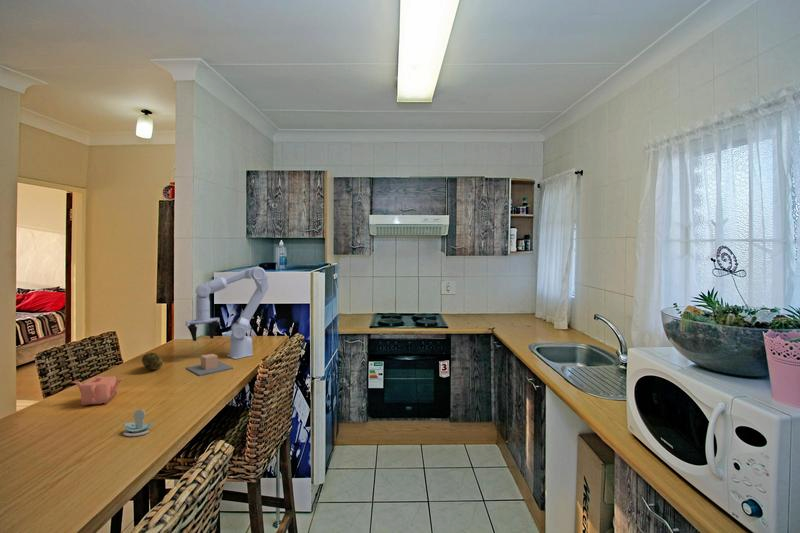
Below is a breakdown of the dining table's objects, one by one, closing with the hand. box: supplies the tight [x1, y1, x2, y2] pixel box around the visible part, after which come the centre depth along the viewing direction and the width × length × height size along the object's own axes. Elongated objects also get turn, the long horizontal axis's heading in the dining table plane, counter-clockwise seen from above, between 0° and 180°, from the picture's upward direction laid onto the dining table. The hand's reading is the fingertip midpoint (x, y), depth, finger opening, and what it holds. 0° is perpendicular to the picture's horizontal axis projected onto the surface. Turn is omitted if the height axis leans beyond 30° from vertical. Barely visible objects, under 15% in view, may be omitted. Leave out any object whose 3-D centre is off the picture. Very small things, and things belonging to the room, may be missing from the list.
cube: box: [200, 353, 219, 370], centre depth 175 cm, size 5×5×5 cm
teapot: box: [72, 375, 126, 406], centre depth 138 cm, size 12×15×8 cm
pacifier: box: [122, 408, 155, 437], centre depth 116 cm, size 7×6×6 cm
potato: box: [141, 352, 163, 370], centre depth 172 cm, size 8×13×8 cm, turn 6°
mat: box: [185, 360, 234, 377], centre depth 175 cm, size 14×14×1 cm
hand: (203, 339), depth 188 cm, fingers open, 7 cm apart
